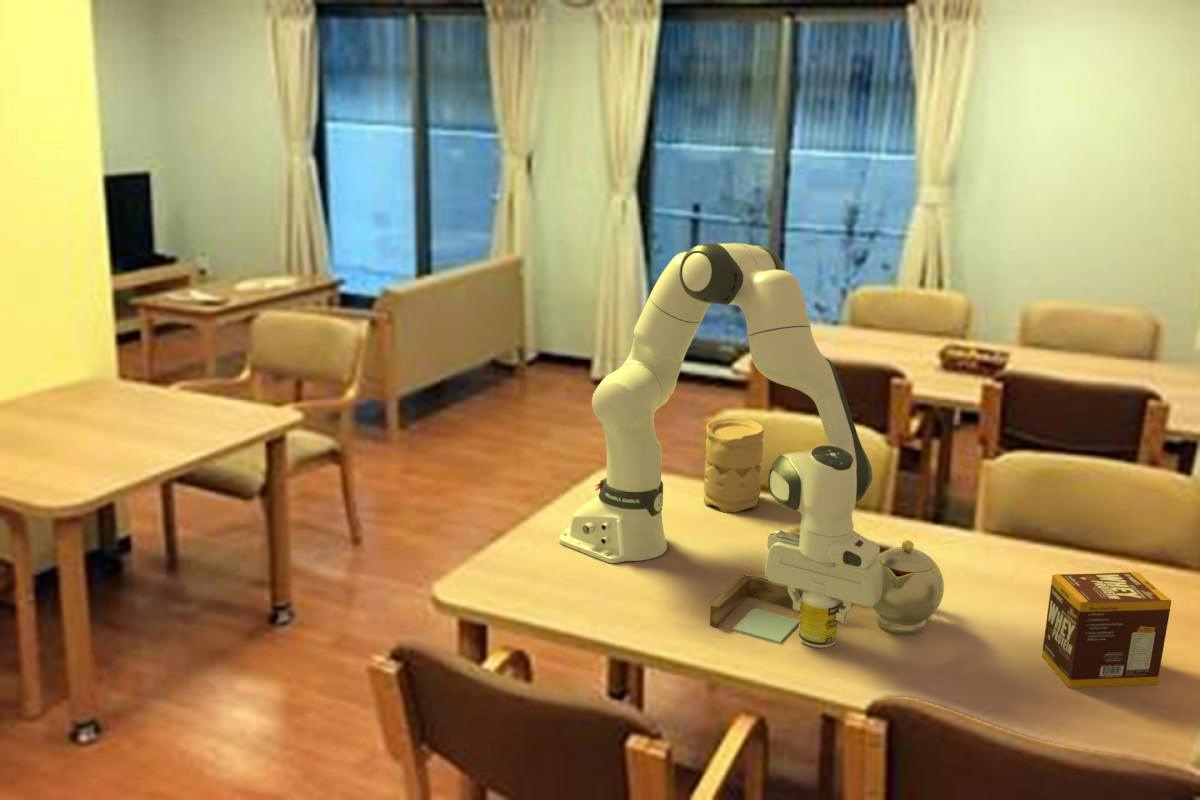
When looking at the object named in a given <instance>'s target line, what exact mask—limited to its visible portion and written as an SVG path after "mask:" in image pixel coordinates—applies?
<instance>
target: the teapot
mask: <svg viewBox="0 0 1200 800" xmlns="http://www.w3.org/2000/svg"><path fill="white" fill-rule="evenodd" d="M914 545H915V544H914V542H912V541H911V540H910V539H909V540H908V539H906V540H903V541H902V543H901V546H899V547H898V546H897V547H891V548H888V549H887V550H884V551H883V552H881V553H879V555H878V557H877V559H876V560H877V561H878V562H879V563H880V565H881V568H882V596H881V599H880V600H879V602H878V603H877V604H876V605H874V606H873V607H871V608H872V609H873V610H874V611H875V612H876V613H875V621H876V623H877V625H878V626H879V627H880V628H881V629H883V630H885V631H887V632H889V633H892V634H897V635H914V634H918V633H921V632H922V631H923V630H924V629H925V628H926V625H927V619H929V618H930V617H931V616H932V615H933V614H934V613H935V612H936V611H937V609H938V608H939V607H940V605H941V603H942V600H943V597H944V591H945V584H944V583H945V582H944V578H943V574H942V571H941V569H940V568H939V566H938V564H937V563H936V562H935V561H934V559H932V558H931V556H929V555H928V554H927V553H925V552H923V551H921V550H919V549H918V548H915V546H914Z"/></svg>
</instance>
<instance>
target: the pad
mask: <svg viewBox="0 0 1200 800" xmlns="http://www.w3.org/2000/svg"><path fill="white" fill-rule="evenodd" d="M799 624H800V619H799V620H798V619H796V618H791V617H788V616H787V617H786V616H783V615H779V614H776V613H773V612H769V611H765V610H761V609H757V608H752V609H751V610H750V611H749V612H748V613H747V614H746V615H745V616H744V617H743V618H742V619H740V621H739V622H737V624H736V625H735V626H734V627H732V631H733V632H737V633H740V634H745V635H747V636H751V637H755V638H759V639H762V640H765V641H768V642H772V643H776V644H779V645H780V644H782V643H783V641H784V640H785V639H786V638H787V637H788V636H789V635H790V634H791V633H792V631H793V630H795V628H796V627H797V626H799Z"/></svg>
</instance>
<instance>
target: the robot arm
mask: <svg viewBox="0 0 1200 800" xmlns="http://www.w3.org/2000/svg"><path fill="white" fill-rule="evenodd" d="M713 304H714V305H723V306H728V305H732V306H733V305H736V306H737V307H739V308H740V310H741V311H742V313H743V314H744V318H745V325H746V334H747V337H748V338H747V339H748V346H749V347H748V348H749V351H750V356H751V360H752V362H753V365H754V367H755V369H757V370H758V372H759V373H760V374H762V376H764V377H766V379H768V380H770V381H772V382H774V383H776V384H779V385H783V386H785V387H789V388H792V389H795V390H798V391H800V392H801V393H803V394H806V395H807V396H808V397H809V398H810V399H811V400H812V401H813V402H814V404H815V406H816V408H817V411H818V415H819V417H820V421H821V424H822V427H823V430H824V433H825V436H826V439H827V442H828V443H827V444H828V445H820V446H819V445H818V446H816V447H814V448H812V449H811V450H804V451H803V450H801V451H794V452H788V453H783V455H782V454H781V455H779V456H777V457H776V458H775V459H774V461H773V462H772V463H771V466H770V469H769V471H768V473H769V474H768V489H769V494H770V495H771V496H772V498H773V499H774V500H775V501H776V502H777V503H779V504H780V505H781V506H782V507H784V508H787V509H789V510H790V511H794V512H795V511H796V512H797V511H798V512H799V513H800V514H801V519H800V523H799V524H800V525H799V527H800V528H799V534H796V533H792V532H791V533H790V532H785V531H783V530H776V531H773V532H771V533H770V534H769V535H768V538H767V545H766V546H767V550H768V553H767V558H766V562H765V566H764V575H765V578H766V579H768V580H769V581H772V582H776V583H779V584H783V585H787V586H788V593H789V595H790V597H791V599H792V601H793V609H792V610H794V611H797V612H801V600H802V598H800V595H799V593H798V589H802V590H806V591H809V592H811V591H812V589H810V582H811V581H812V582H815V583H819V584H823V585H826V586H827V588H826V593H824V595H825V596H828V597H832V598H836V599H840V600H843V605H844V606H846V608H845V609H839V610H838V611H837V612H836V619H835V620H836V621H838V622H839V623H842V624H845V622H846V621H847V619H848V612H849V610H850V609H851V608H852V607H853V606H854V605H859V606H863V607H867V608H872V607H873V606H874V605H876V604H877V603H878V602H879V600H880V599H881V596H882V568H881V565H880V563H879V562H878V561H877V560H876V559H877V557H878V555H880V551H881V549H880V546H879V545H878V544H877V543H875V542H874V541H871V540H870V539H868V538H866V537H864V536H863V535H861V534H860V533H859V532H856V531H855V530H854V521H853V513H854V510H855V508H856V505H857V504H856V503H858V502H859V501H860V500H861V499H862V498H863V497H864V496H865V495H866V494H867V492H868V490H869V488H870V486H871V484H872V480H873V468H872V466H871V463H870V460H869V458H868V456H867V454H866V451H865V450H864V448H863V446H862V443H861V441H860V438H859V435H858V433H857V432H858V431H857V429H856V426H855V423H854V420H853V416H852V413H851V410H850V407H849V403H848V400H847V397H846V393H845V391H844V388H843V385H842V383H841V379H840V376H839V374H838V372H837V370H836V368H835V365H834V364H833V362H832V361H831V360H830V358H828V357H825V356H824V355H823V353H822V352H821V351H820V349H819V347H818V346H817V343H816V342H815V339H814V336H813V333H812V328H811V322H810V318H809V312H808V307H807V305H806V304H807V303H806V300H805V297H804V294H803V291H802V288H801V285H800V283H799V281H798V279H797V277H796V276H795V275H794V274H793V273H791V272H789V271H787V270H785V266H784V263H783V261H782V259H781V258H780V257H779V255H778V254H777V253H775V252H774V251H772V250H771V249H769V248H766V247H764V246H761V245H751V244H746V243H740V242H730V243H729V242H728V243H717V242H706V243H702V244H698V245H696V246H693V247H692V248H690V249H689V250H688V251H684V252H680V253H678V254H676V255H675V256H674V257H673V258H672V259H671V260H670V261H669V263H668V264H667V265H666V267H665V268H664V270H663V271H662V273H661V274H660V276H659V277H658V279H657V281H656V283H655V284H654V286H653V289H652V290H651V292H650V295H649V297H648V299H647V300H646V302H645V305H644V307H643V309H642V312H641V314H640V315H639V318H638V319H637V322H636V323H635V326H634V328H633V341H632V345H631V349H630V352H629V354H628V357H627V359H626V360H625V362H624V363H623V364H622V365H621V366H620V367H619V368H617V369H616V370H614V371H613V372H611V373H609V374H608V375H606V376H605V377H603V379H602V380H601V381H600V383H599V384H598V385H597V387H596V389H595V390H594V392H593V394H592V398H591V407H592V412H593V415H594V416H595V418H596V420H598V422H599V423H601V426H602V430H603V434H604V439H605V444H606V477H604V478H602V479H601V480H600V481H599V483H597V484H595V485H594V487H595V489H594V491H595V492H596V491H598V490H599V493H598V494H597V495H596V496H595V497H593V498H591V499H590V500H588V501H587V502H586V503H584V504H582V505H581V506H580V507H578V508H577V510H576V511H575V512H574V514H573V516H572V519H571V523H570V526H568V527H567V528H565V529H564V530H563V531H562V532H561V533H560V534H559V542H558V543H560V545H563V546H566V547H568V548H570V549H573V550H575V551H578V552H581V553H583V554H586V555H588V556H591V557H593V558H595V559H599V560H601V561H604V562H606V563H608V564H617V563H623V562H630V561H633V562H634V561H635V562H636V561H638V562H639V561H647V560H650V559H654V558H657V557H659V556H661V555H663V554H664V553H665V552H666V551H667V550H668V543H667V540H666V536H665V531H664V525H663V514H662V513H663V512H662V510H663V506H664V482H663V481H662V465H663V464H662V462H663V459H662V458H663V447H662V444H661V442H660V441H659V440H658V439H657V435H656V430H655V423H654V421H655V420H654V418H655V414H656V411H657V410H658V409H660V408H661V407H662V406H664V405H665V404H666V403H667V402H668V401H669V399H670V398H671V396H672V395H673V393H674V391H675V389H676V387H677V382H678V378H679V376H680V372H681V369H682V365H683V362H684V359H685V356H686V354H687V352H688V349H689V348H690V346H691V343H692V341H693V340H694V338H695V335H696V333H697V331H698V329H699V327H700V325H701V323H702V321H703V319H704V317H705V315H706V313H707V312H708V309H709V307H710V306H711V305H713Z"/></svg>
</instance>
